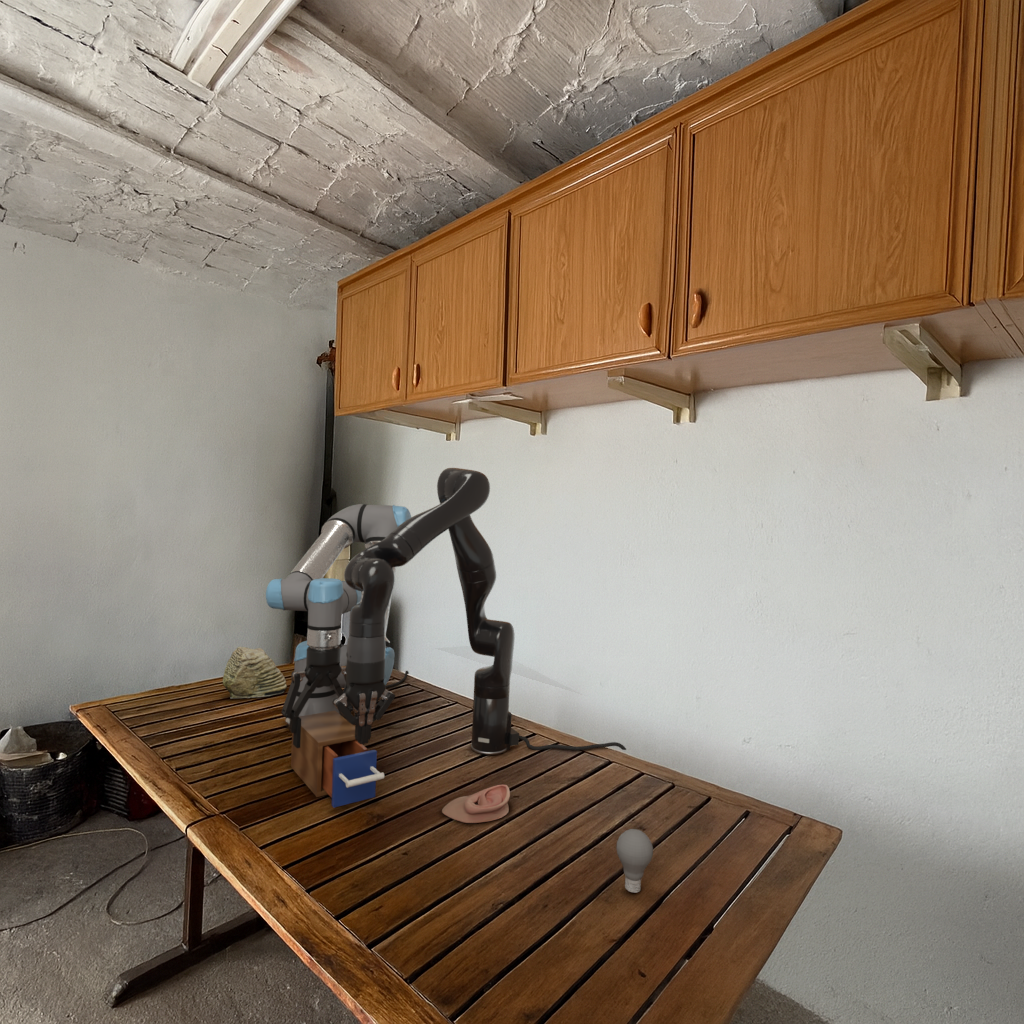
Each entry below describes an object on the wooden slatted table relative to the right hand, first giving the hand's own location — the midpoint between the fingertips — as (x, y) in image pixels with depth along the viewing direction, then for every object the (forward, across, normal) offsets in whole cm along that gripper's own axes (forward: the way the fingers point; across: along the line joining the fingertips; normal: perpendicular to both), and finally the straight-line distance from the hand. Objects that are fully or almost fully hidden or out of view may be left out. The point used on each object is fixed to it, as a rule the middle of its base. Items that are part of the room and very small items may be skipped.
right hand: (362, 742), depth 127 cm
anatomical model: (+14, +21, -11) cm, 28 cm away
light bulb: (+14, +28, -48) cm, 57 cm away
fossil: (+14, +1, +87) cm, 88 cm away
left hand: (+8, 0, +24) cm, 25 cm away
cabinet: (+14, 0, +20) cm, 25 cm away
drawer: (+14, 0, +9) cm, 16 cm away
